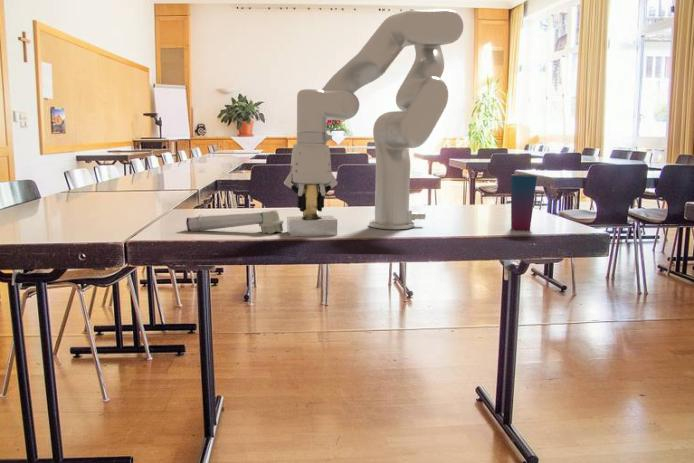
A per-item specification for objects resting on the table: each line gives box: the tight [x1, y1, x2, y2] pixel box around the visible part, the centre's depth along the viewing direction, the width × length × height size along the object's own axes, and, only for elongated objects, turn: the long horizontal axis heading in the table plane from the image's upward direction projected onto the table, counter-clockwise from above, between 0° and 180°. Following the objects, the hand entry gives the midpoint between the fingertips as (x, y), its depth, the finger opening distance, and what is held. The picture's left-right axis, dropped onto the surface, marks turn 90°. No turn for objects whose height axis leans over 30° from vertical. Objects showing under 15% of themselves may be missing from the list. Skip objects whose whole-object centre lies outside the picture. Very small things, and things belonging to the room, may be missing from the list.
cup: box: [510, 173, 538, 231], centre depth 162 cm, size 7×7×15 cm
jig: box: [286, 215, 338, 237], centre depth 154 cm, size 12×7×4 cm, turn 104°
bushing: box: [302, 184, 319, 220], centre depth 153 cm, size 4×4×9 cm
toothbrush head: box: [185, 209, 284, 235], centre depth 155 cm, size 5×7×25 cm
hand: (310, 210), depth 153 cm, fingers closed on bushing, 4 cm apart
